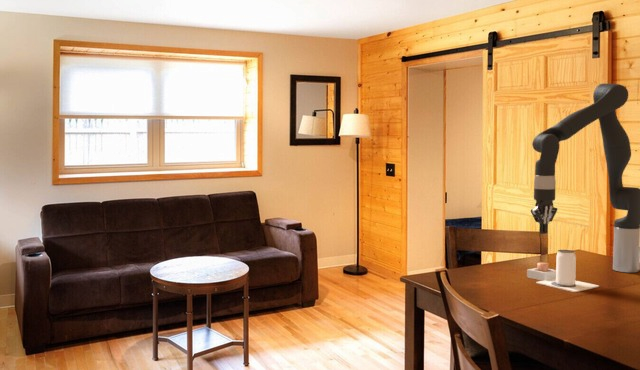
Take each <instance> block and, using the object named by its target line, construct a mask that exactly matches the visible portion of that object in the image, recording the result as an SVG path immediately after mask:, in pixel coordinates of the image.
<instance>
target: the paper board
mask: <svg viewBox="0 0 640 370" xmlns="http://www.w3.org/2000/svg"><path fill="white" fill-rule="evenodd" d="M535 284H537V285H542V286H547V287H551V288H556V289H559V290H562V291H568V292H572V293H579V292H583V291H586V290H591V289H595V288H599V287H600V285H599V284H593V283H589V282H585V281H584V282H583V281H580V280H575V285H574V286H561V285H558V284H557V283H556V278H554V279H549V280H544V281H541V280H538V281H536V282H535Z"/></svg>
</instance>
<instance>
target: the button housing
mask: <svg viewBox="0 0 640 370" xmlns="http://www.w3.org/2000/svg"><path fill="white" fill-rule="evenodd" d="M526 277H527V278H529V279H532V280H537V281H544V280H549V279H554V278H556V269H554V268H553V269H552V268H548V271H547V272H542V271H537V267H534V268H527V270H526Z"/></svg>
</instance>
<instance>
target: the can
mask: <svg viewBox="0 0 640 370" xmlns="http://www.w3.org/2000/svg"><path fill="white" fill-rule="evenodd" d="M575 252H576V251H574V250H571V249H558V250H557V254H556V255H555V256H556V262H555V264H556V265H555V266H556V267H555V270H556V283H557V284H558V285H561V286H574V285H575V281H576V274H577V272H576V271H577V270H576V269H577V267H576V266H577V262H576V261H577V255H576V253H575Z"/></svg>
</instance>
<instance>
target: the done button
mask: <svg viewBox="0 0 640 370" xmlns="http://www.w3.org/2000/svg"><path fill="white" fill-rule="evenodd" d="M536 265H537V267H536V268H537V271H542V272H547V271H548V269H550V268H549V266H550V265H549V262H542V261H541V262H540V261H539V262H537V264H536Z"/></svg>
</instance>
